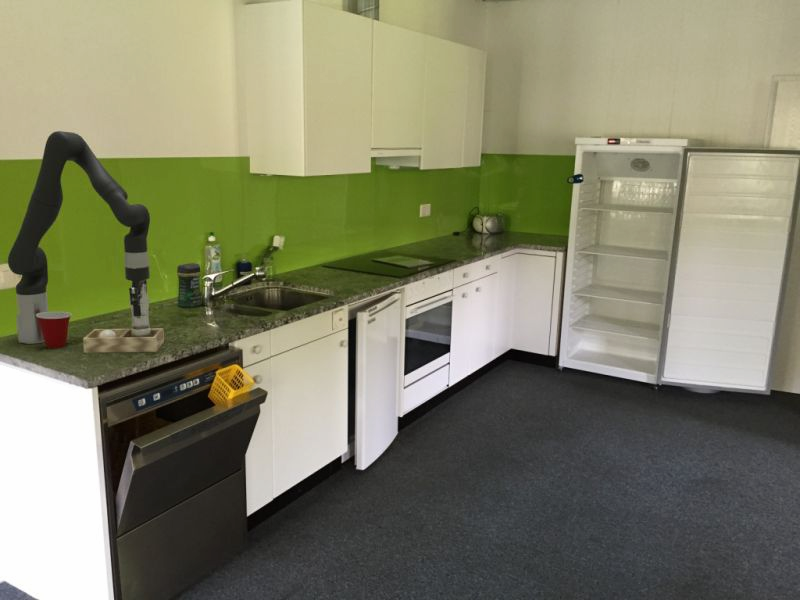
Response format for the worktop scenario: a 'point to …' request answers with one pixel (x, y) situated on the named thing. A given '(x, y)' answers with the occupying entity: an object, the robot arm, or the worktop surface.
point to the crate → (123, 341)
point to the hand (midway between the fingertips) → (139, 313)
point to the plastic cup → (54, 328)
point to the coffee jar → (189, 285)
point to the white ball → (107, 334)
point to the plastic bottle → (141, 318)
